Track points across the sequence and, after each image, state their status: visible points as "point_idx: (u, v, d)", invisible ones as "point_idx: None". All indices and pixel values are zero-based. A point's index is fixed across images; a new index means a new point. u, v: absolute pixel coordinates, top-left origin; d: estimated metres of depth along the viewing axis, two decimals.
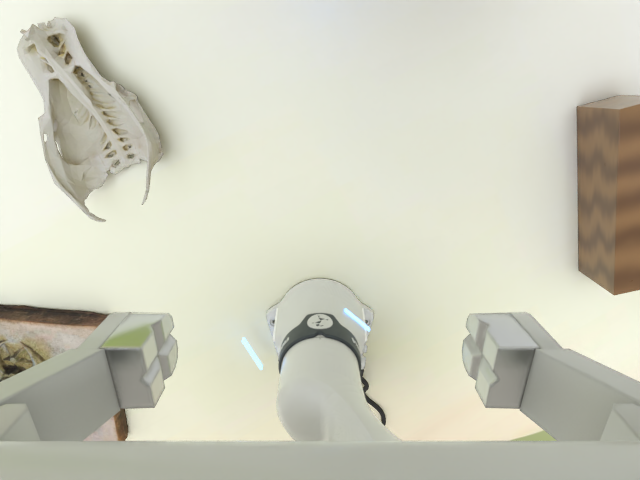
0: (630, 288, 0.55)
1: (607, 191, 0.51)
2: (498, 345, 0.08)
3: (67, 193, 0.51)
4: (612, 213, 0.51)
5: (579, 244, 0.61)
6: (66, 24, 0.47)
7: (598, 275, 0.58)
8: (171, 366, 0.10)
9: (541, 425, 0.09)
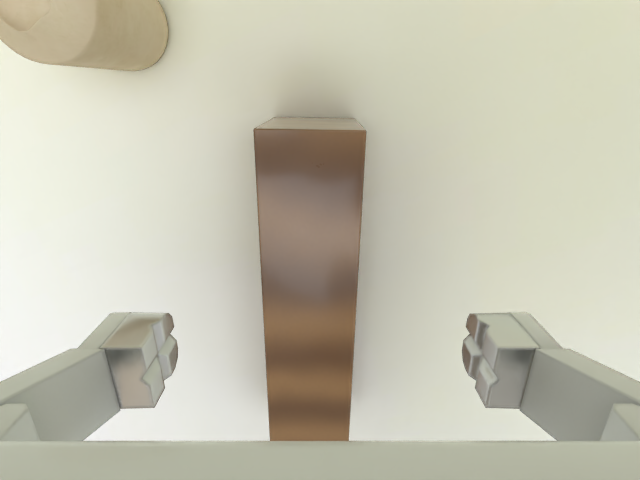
0: (320, 139, 0.20)
1: None
2: (498, 345, 0.08)
3: None
4: None
5: None
6: None
7: None
8: (171, 365, 0.10)
9: (541, 425, 0.09)
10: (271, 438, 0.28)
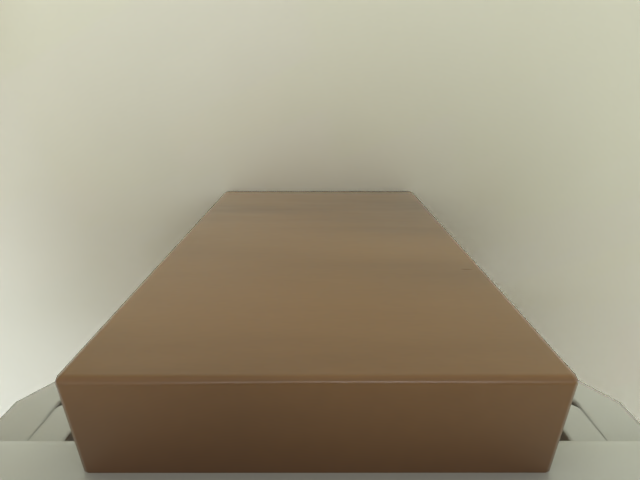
0: (365, 414, 0.04)
1: None
2: None
3: None
4: None
5: None
6: None
7: None
8: None
9: None
10: None
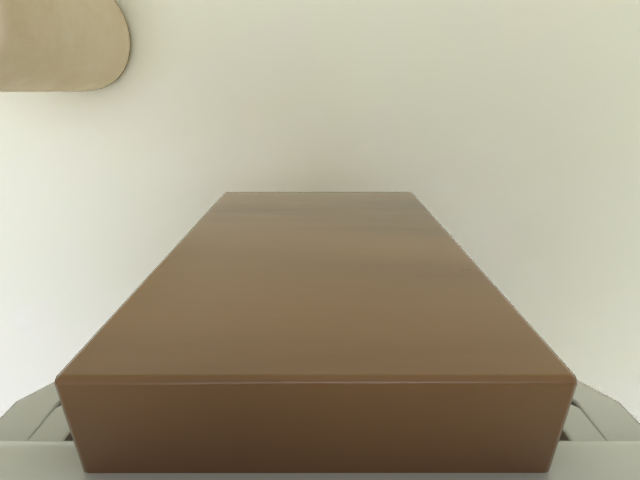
0: (365, 415, 0.04)
1: None
2: None
3: None
4: None
5: None
6: None
7: None
8: None
9: None
10: None
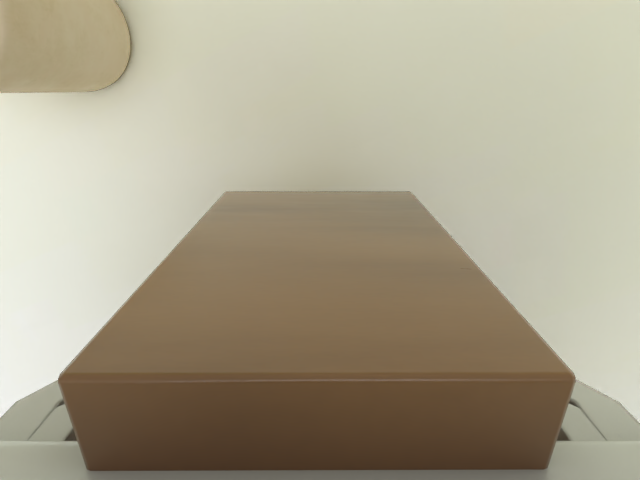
0: (365, 412, 0.04)
1: None
2: None
3: None
4: None
5: None
6: None
7: None
8: None
9: None
10: None
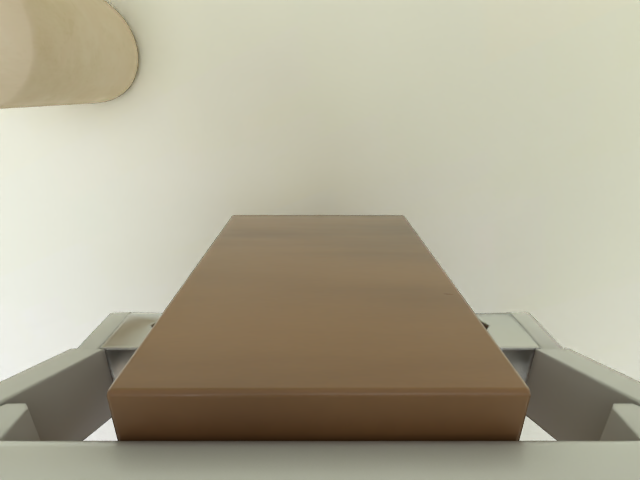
0: (358, 420, 0.05)
1: None
2: (498, 345, 0.08)
3: None
4: None
5: None
6: None
7: None
8: None
9: (541, 425, 0.09)
10: None
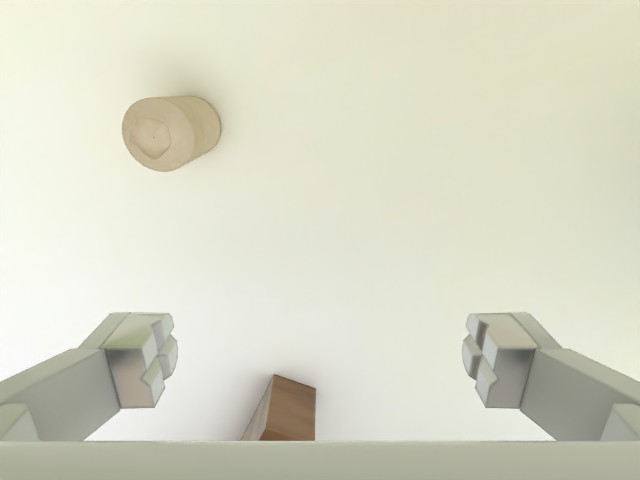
0: (293, 440, 0.41)
1: None
2: (498, 345, 0.08)
3: None
4: None
5: None
6: None
7: None
8: (172, 365, 0.10)
9: (541, 425, 0.09)
10: None
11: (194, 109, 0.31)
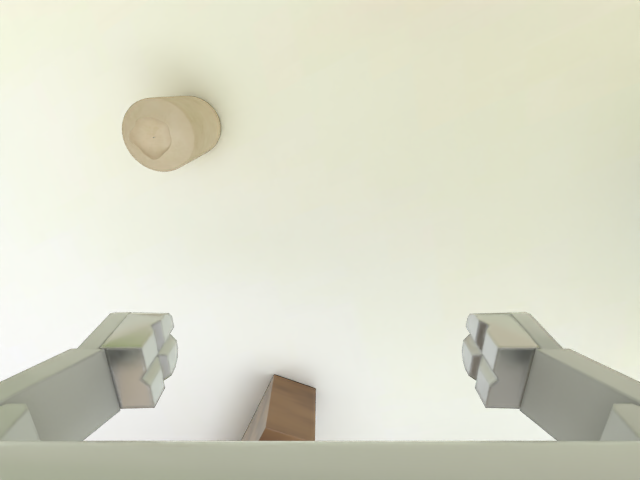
0: (293, 439, 0.41)
1: None
2: (498, 345, 0.08)
3: None
4: None
5: None
6: None
7: None
8: (171, 365, 0.10)
9: (541, 425, 0.09)
10: None
11: (194, 109, 0.31)
